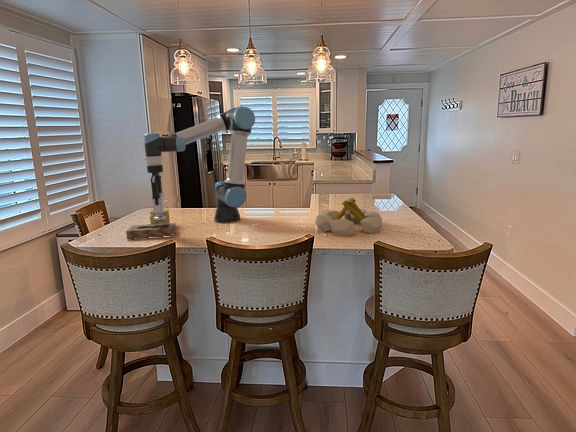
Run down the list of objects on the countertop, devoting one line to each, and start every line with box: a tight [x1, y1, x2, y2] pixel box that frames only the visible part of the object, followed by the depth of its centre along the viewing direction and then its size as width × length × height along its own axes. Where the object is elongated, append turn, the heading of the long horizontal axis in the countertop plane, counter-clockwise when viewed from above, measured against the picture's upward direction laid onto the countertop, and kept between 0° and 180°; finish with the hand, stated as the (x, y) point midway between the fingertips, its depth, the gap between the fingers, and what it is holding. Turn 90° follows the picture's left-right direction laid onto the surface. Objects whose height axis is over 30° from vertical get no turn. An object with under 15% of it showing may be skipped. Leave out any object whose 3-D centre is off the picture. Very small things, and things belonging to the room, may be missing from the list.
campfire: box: [315, 197, 383, 237], centre depth 211 cm, size 35×34×17 cm
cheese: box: [149, 207, 170, 224], centre depth 227 cm, size 10×11×10 cm
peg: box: [151, 191, 166, 221], centre depth 208 cm, size 6×6×14 cm
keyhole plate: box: [125, 222, 176, 240], centre depth 210 cm, size 22×12×4 cm, turn 96°
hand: (159, 210), depth 208 cm, fingers closed on peg, 4 cm apart
